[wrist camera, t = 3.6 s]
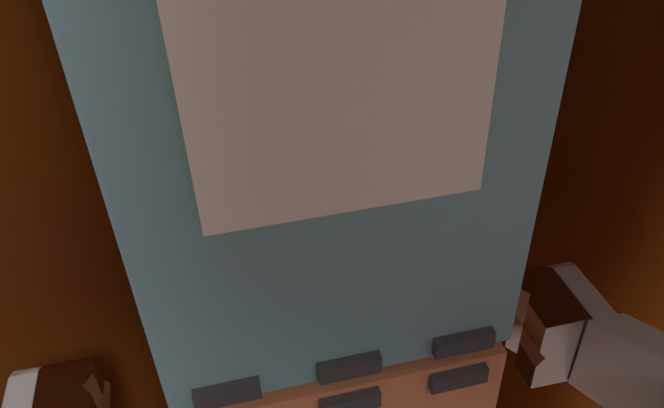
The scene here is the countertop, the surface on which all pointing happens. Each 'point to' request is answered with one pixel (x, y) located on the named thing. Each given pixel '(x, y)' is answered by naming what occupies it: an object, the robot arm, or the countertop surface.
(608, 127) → the countertop surface
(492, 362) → the block
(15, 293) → the countertop surface
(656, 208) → the countertop surface
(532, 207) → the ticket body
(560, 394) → the countertop surface
